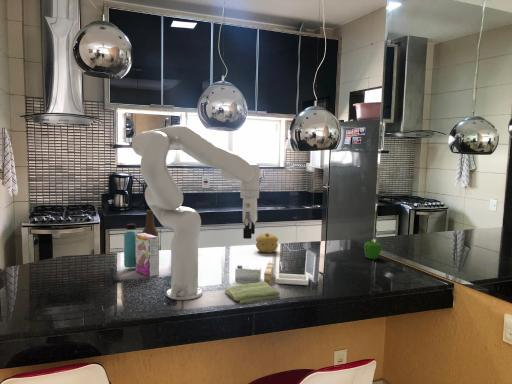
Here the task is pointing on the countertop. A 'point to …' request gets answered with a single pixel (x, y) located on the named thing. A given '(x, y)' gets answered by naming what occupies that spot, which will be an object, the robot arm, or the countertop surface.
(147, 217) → the beer bottle
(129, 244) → the beverage bottle
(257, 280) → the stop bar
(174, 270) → the robot arm
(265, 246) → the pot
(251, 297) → the washcloth
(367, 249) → the bell pepper
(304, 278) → the bracket
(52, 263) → the countertop surface
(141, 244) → the candy bar box
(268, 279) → the rail
